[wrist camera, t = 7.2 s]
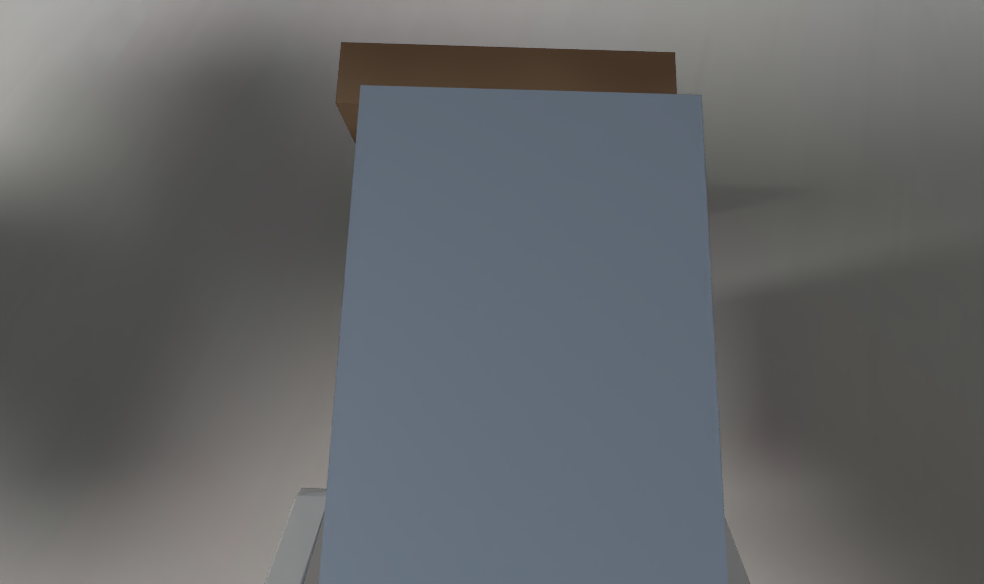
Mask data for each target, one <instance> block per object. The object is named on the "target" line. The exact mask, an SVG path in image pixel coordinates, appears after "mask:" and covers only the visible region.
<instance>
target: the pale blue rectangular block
mask: <svg viewBox="0 0 984 584" xmlns="http://www.w3.org/2000/svg"><path fill="white" fill-rule="evenodd" d="M319 584H728V576H727V558H726V539H725V521H724V503H723V484H722V466H721V447H720V429H719V411H718V392H717V374H716V356H715V337H714V319H713V300H712V282H711V264H710V245H709V227H708V208H707V190H706V172H705V153H704V135H703V116H702V98H701V95H688V94H653V93H618V92H583V91H548V90H513V89H477V88H442V87H407V86H372V85H361V86H360V98H359V110H358V122H357V134H356V146H355V158H354V170H353V182H352V194H351V206H350V218H349V229H348V241H347V253H346V265H345V277H344V289H343V301H342V313H341V325H340V337H339V349H338V361H337V373H336V385H335V397H334V409H333V421H332V433H331V444H330V456H329V468H328V480H327V492H326V504H325V516H324V528H323V540H322V552H321V564H320V576H319Z"/></svg>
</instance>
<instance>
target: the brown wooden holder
mask: <svg viewBox="0 0 984 584" xmlns="http://www.w3.org/2000/svg"><path fill="white" fill-rule="evenodd" d="M361 85H372V86H407V87H442V88H477V89H513V90H548V91H583V92H618V93H653V94H677V88H676V65H675V52H644V51H611V50H578V49H546V48H513V47H480V46H447V45H415V44H382V43H349V42H341V51H340V62H339V72H338V83H337V94H336V105H337V107H338V109H339V111H340V113H341V115H342V117H343V119H344V121H345V123H346V125H347V127H348V130H349V132H350V134H351V136H352V138H353V140H354V142H355V144H356V134H357V122H358V110H359V98H360V86H361Z"/></svg>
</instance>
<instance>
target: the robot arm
mask: <svg viewBox="0 0 984 584" xmlns="http://www.w3.org/2000/svg"><path fill="white" fill-rule="evenodd" d="M326 492H327V489H319V488H302V489H301V490H300V492H299V493H298V494H297V496H296V497H295V500H294V502H293V505H292V508H291V511H290V514H289V516H288V519H287V522H286V525H285V527H284V530H283V533H282V536H281V539H280V541H279V544H278V547H277V550H276V552H275V555H274V558H273V561H272V563H271V566H270V569H269V572H268V575H267V577H266V580H265V583H264V584H319V576H320V564H321V552H322V540H323V528H324V516H325V504H326ZM724 521H725V539H726V558H727V576H728V584H750V582H749V579H748V576H747V574H746V571H745V569H744V566H743V563H742V561H741V558H740V556H739V553H738V550H737V548H736V545H735V542H734V540H733V537H732V535H731V532H730V529H729V527H728V524H727V522H726V519H725V516H724Z"/></svg>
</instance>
